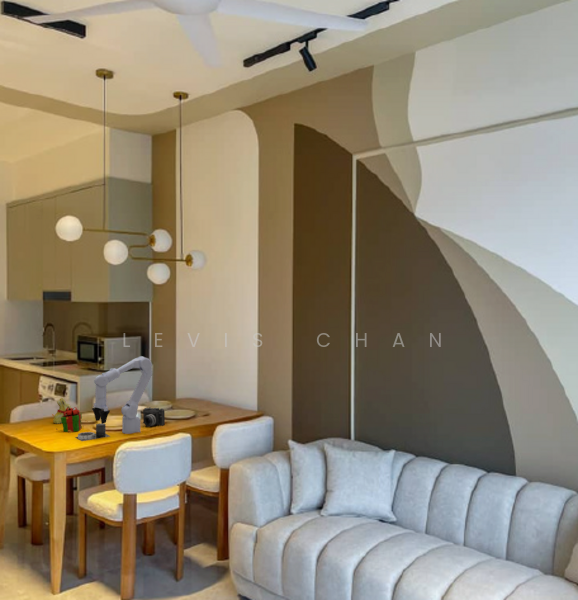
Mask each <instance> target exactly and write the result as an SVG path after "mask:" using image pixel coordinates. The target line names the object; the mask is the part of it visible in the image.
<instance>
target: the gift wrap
mask: <svg viewBox="0 0 578 600" xmlns="http://www.w3.org/2000/svg"><path fill="white" fill-rule="evenodd" d="M82 414H83V413H82V412H81V413H80V410H79V409H78V408H77V407H75V406H74V407H71V408H69V409H68V408H66V410H65V412H64V413H63V415H64V416H62V417H61V422H62V423H61V424H62V428H63V431H62V432H63V433H69V434H71V433H74V432H79V431H81V430H83V428H84V425H82V418H83V416H82ZM51 415H52V417H54V416H55V415H54V414H53V413H51ZM85 422H86V423H88V419H86V420H85ZM56 431H59V429H58V428H56Z"/></svg>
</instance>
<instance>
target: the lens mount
mask: <svg viewBox="0 0 578 600" xmlns="http://www.w3.org/2000/svg"><path fill="white" fill-rule="evenodd" d="M109 437H111V435H109V434H107V433H105V436H101V437H98V436H96V432H92V431H88V432H87V431H85V432H80V433H78V435H77V436H74V438H75V439H77V440H79V441H81V442H85V441H92V440H98V439H103V438H109Z"/></svg>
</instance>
